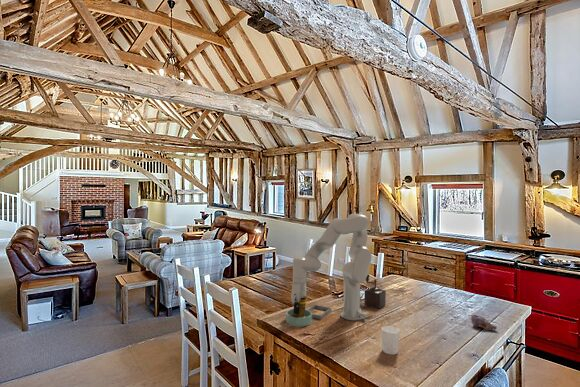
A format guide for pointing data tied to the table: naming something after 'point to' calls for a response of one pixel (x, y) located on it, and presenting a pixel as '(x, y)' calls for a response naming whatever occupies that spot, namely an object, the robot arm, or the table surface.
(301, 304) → the condiment
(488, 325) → the grey-brown irregular lump
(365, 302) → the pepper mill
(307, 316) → the bowl
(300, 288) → the robot arm
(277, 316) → the table surface
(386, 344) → the white cup
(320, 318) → the tray
